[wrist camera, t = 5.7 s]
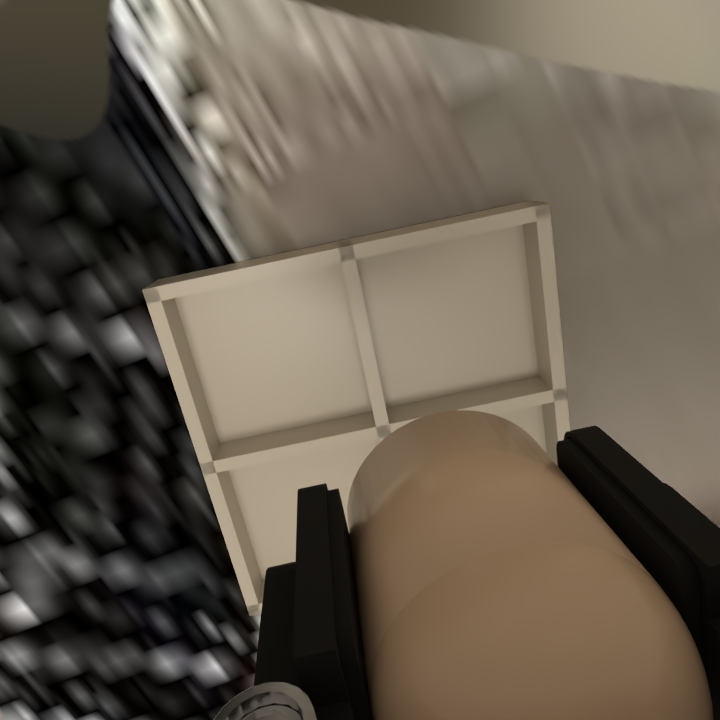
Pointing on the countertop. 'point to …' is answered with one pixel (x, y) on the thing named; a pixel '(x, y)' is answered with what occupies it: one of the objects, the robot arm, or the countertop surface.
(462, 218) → the egg tray
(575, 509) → the brown egg
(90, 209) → the countertop surface
